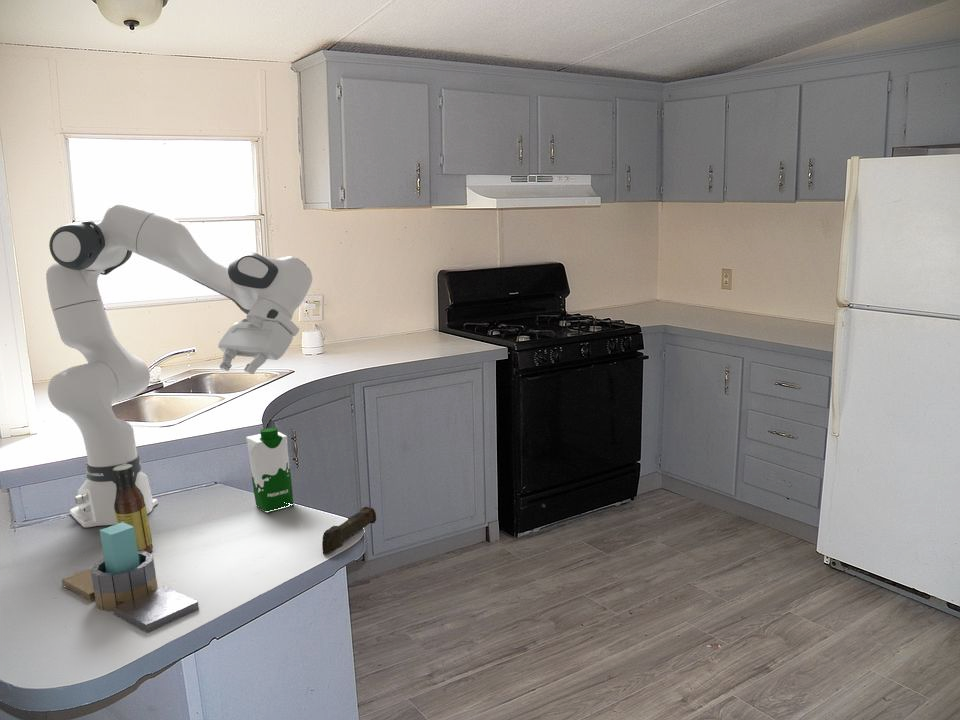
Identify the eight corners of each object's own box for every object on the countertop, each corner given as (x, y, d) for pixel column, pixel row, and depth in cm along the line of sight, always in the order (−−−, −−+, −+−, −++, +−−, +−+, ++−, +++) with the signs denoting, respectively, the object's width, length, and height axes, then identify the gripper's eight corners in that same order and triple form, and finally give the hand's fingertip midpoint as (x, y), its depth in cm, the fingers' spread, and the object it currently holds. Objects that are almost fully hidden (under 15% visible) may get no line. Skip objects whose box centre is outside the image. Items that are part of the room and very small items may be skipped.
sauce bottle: (141, 545, 182) (128, 460, 178) (159, 549, 178) (146, 462, 175) (115, 556, 176) (101, 469, 172) (133, 561, 173) (119, 472, 169)
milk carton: (264, 515, 195) (254, 435, 191) (251, 506, 202) (241, 428, 198) (298, 506, 200) (289, 427, 196) (284, 497, 207) (275, 421, 203)
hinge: (60, 586, 163) (54, 554, 161) (113, 566, 171) (108, 535, 170) (145, 633, 141) (139, 596, 140) (200, 608, 149) (195, 572, 148)
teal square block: (110, 598, 156) (99, 530, 153) (133, 589, 159) (122, 522, 157) (121, 604, 153) (110, 534, 150) (144, 595, 156) (134, 526, 154)
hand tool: (362, 521, 187) (360, 502, 186) (377, 523, 185) (375, 503, 185) (313, 555, 170) (310, 534, 170) (328, 557, 169) (326, 536, 168)
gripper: (231, 310, 188) (199, 359, 183) (285, 313, 175) (252, 366, 170) (249, 326, 192) (219, 375, 187) (304, 330, 179) (272, 382, 174)
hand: (235, 371), depth 178 cm, fingers open, 8 cm apart
